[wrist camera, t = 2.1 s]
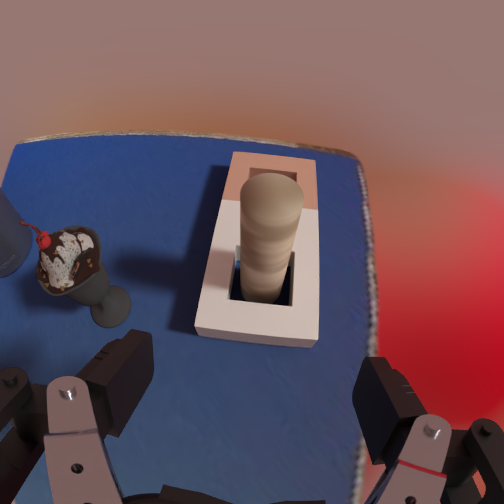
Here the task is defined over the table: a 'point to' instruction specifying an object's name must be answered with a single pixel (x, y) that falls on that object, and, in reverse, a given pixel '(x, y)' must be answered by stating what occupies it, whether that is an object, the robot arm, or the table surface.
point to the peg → (267, 234)
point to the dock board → (228, 251)
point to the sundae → (79, 273)
